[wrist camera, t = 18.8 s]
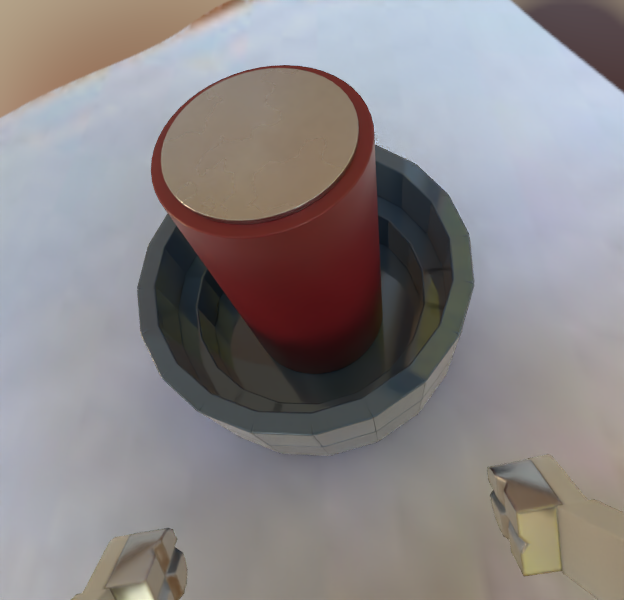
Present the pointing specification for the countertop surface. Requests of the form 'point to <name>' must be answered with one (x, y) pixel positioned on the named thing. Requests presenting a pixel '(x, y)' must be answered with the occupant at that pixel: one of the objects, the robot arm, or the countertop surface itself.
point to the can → (281, 208)
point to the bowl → (326, 386)
